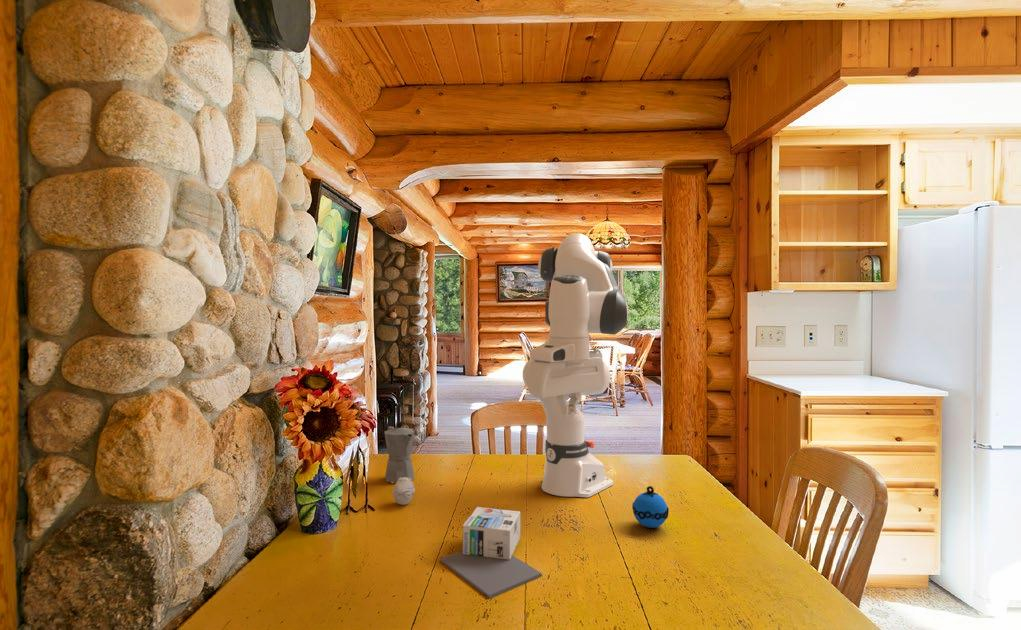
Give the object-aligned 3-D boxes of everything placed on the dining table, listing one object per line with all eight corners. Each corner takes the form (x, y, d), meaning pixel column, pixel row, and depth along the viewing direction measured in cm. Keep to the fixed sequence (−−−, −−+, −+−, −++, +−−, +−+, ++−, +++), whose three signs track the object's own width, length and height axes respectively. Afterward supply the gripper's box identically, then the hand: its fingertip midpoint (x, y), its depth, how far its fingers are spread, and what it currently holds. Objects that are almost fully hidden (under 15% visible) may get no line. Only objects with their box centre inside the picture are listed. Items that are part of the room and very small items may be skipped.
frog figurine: (418, 499, 149) (417, 474, 148) (410, 509, 142) (410, 483, 142) (396, 498, 149) (396, 474, 149) (388, 508, 142) (388, 482, 142)
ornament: (625, 527, 130) (626, 486, 130) (643, 516, 137) (643, 478, 136) (657, 537, 125) (658, 495, 124) (674, 526, 131) (674, 486, 131)
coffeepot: (424, 480, 164) (424, 422, 163) (398, 488, 157) (397, 428, 157) (397, 469, 175) (397, 415, 174) (371, 476, 168) (371, 419, 168)
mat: (489, 543, 122) (489, 541, 121) (541, 576, 107) (541, 573, 107) (440, 561, 114) (440, 558, 113) (489, 598, 99) (489, 595, 99)
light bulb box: (510, 530, 112) (461, 524, 115) (510, 561, 112) (461, 555, 115) (520, 510, 123) (476, 505, 125) (520, 538, 123) (475, 533, 125)
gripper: (591, 346, 124) (591, 405, 124) (523, 351, 111) (523, 417, 111) (612, 348, 119) (611, 410, 119) (543, 354, 106) (543, 423, 107)
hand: (568, 413), depth 115 cm, fingers closed
